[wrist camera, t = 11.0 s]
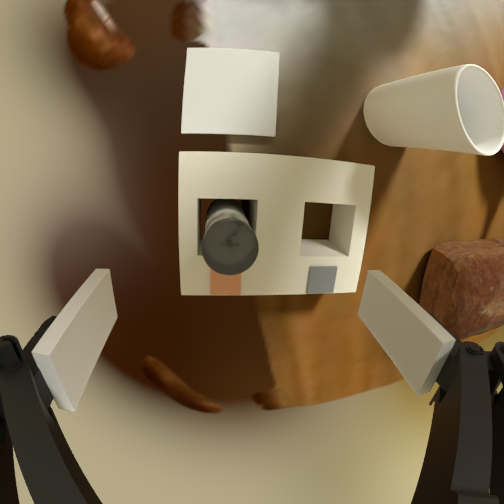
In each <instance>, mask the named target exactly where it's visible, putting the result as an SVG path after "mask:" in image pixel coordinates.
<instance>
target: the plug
mask: <svg viewBox="0 0 504 504" xmlns="http://www.w3.org/2000/svg"><path fill="white" fill-rule="evenodd" d="M258 251H259V245H258V240H257V237H256V235H255V233H254V231H253V230H252V228H251V227H250V225H249V223H248V221H247V219H246V217H245V215H244V212H243V210H242V208H241V206H240V204H239V203H238V202H237V201H236V200H234V199H216V200H214V201H213V202H212V203H211V204H210V206H209V208H208V211H207V218H206V226H205V234H204V237H203V241H202V255H203V258H204V260H205V262H206V264H207V265H208V266H209V267H210V268H211V269H212V270H214V271H215V272H217V273H220V274H223V275H236V274H240V273H242V272H244V271H246V270H247V269H249V268H250V267H251V266H252V265H253V263H254V262H255V260H256V258H257V256H258Z"/></svg>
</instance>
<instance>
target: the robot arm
mask: <svg viewBox="0 0 504 504" xmlns="http://www.w3.org/2000/svg"><path fill="white" fill-rule="evenodd" d="M358 316H359V317H360V319H361V320H362V321H363V323H364V324H365V325H366V327H367V328H368V329H369V331H370V332H371V333H372V334H373V336H374V337H375V339H376V340H377V341H378V343H379V344H380V345H381V347H382V348H383V349H384V351H385V352H386V353H387V355H388V356H389V357H390V359H391V360H392V362H393V363H394V364H395V366H396V367H397V368H398V370H399V371H400V373H401V374H402V375H403V377H404V378H405V380H406V381H407V382H408V384H409V385H410V387H411V388H412V389H413V391H414V392H415V394H416V395H421V394H424V393H427V392H430V390H431V389H432V387H433V385H434V383H435V381H436V382H437V383H438V384H439V385H440V386H439V388H438V390H437V391H436V393H435V395H434V396H433V398H432V400H431V401H430V404H429V405H432V403H433V402H434V401H435V405H434V413H433V419H432V425H431V430H430V435H429V440H428V445H427V449H426V454H425V458H424V462H423V466H422V469H421V473H420V477H419V480H418V484H417V487H416V490H415V493H414V496H413V499H412V502H411V504H504V342H497V343H496V344H495V346H494V348H493V350H492V351H490V352H489V351H484V350H483V348H482V347H481V346H479V345H478V344H476V343H473V342H469V341H466V342H463V343H462V342H461V341H460V340H459V339H458V338H457V337H456V336H455V335H454V334H453V333H452V332H451V331H449V330H448V329H447V328H445V326H444V325H443V324H442V323H440V321H439V320H438V319H437V318H436V317H435V316H433V315H431V314H430V313H428V312H426V311H425V310H424V309H423V308H422V307H421V306H420V305H419V304H417V303H416V302H415V301H414V300H413V299H412V298H411V297H410V296H409V295H408V294H406V293H405V292H404V291H403V290H402V289H401V288H400V287H398V286H397V285H396V284H395V283H394V282H393V281H392V280H390V279H389V278H388V277H387V276H386V275H385V274H384V273H382V272H381V271H380V270H368V273H367V278H366V282H365V287H364V291H363V295H362V299H361V303H360V308H359V311H358ZM117 317H118V316H117V311H116V306H115V300H114V294H113V288H112V281H111V275H110V269H95V271H94V272H93V273H92V274H91V275H90V277H89V278H88V279H87V280H86V281H85V282H84V284H83V285H82V286H81V287H80V289H79V290H78V291H77V292H76V294H75V295H74V296H73V297H72V298H71V299H70V301H69V302H68V303H67V305H66V306H65V307H64V308H63V310H62V311H61V312H60V313H59V315H58V316H52V317H51V318H49V319H47V320H46V321H45V322H44V323H43V324H42V325H41V326H40V328H39V330H38V331H37V332H36V333H35V334H34V336H33V337H32V338H31V340H30V341H29V342H28V344H27V345H26V346H25V348H24V349H23V350H22V348H21V346H20V343H19V341H18V339H17V338H16V337H14V336H11V335H6V336H1V337H0V504H19V499H18V493H17V486H16V479H15V470H14V459H13V448H14V451H15V454H16V457H17V460H18V463H19V466H20V469H21V472H22V474H23V477H24V480H25V482H26V485H27V487H28V490H29V492H30V495H31V497H32V499H33V501H34V504H102V502H101V501H100V499H99V498H98V496H97V495H96V493H95V492H94V490H93V488H92V487H91V485H90V484H89V482H88V480H87V479H86V477H85V475H84V474H83V472H82V470H81V468H80V466H79V464H78V463H77V461H76V459H75V457H74V455H73V453H72V451H71V449H70V447H69V445H68V443H67V441H66V439H65V437H64V435H63V433H62V431H61V429H60V426H59V424H58V422H57V419H56V417H55V415H54V412H53V410H52V408H51V407H50V404H51V402H52V400H53V398H54V400H55V402H56V404H57V406H58V408H60V409H63V410H68V411H72V412H76V410H77V408H78V405H79V403H80V400H81V398H82V395H83V393H84V390H85V388H86V385H87V383H88V381H89V378H90V376H91V374H92V371H93V369H94V367H95V365H96V362H97V360H98V358H99V355H100V353H101V351H102V349H103V347H104V345H105V342H106V340H107V338H108V336H109V334H110V332H111V330H112V328H113V326H114V323H115V322H116V320H117ZM501 382H502V384H503V388H502V389H501V391H500V392H499V394H498V393H497V391H496V389H497V388H498V386H499V385H500V383H501ZM489 489H490V493H489Z"/></svg>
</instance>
